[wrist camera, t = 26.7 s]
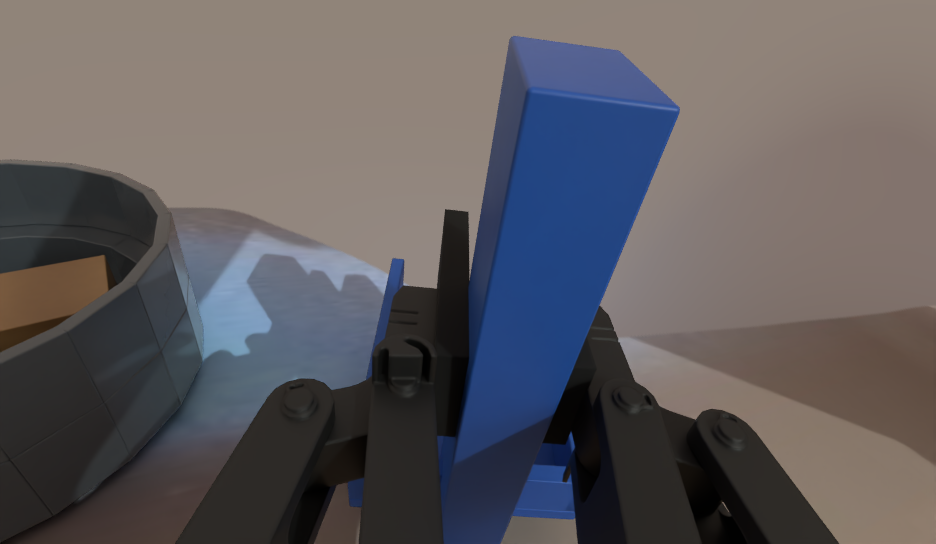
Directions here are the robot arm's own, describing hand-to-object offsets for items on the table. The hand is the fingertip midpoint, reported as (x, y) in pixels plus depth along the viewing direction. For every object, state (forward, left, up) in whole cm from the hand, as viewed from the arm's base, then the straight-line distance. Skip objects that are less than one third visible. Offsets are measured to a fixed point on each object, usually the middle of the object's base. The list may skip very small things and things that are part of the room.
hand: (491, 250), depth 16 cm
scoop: (0, 0, -8) cm, 8 cm away
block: (+16, +7, -9) cm, 19 cm away
